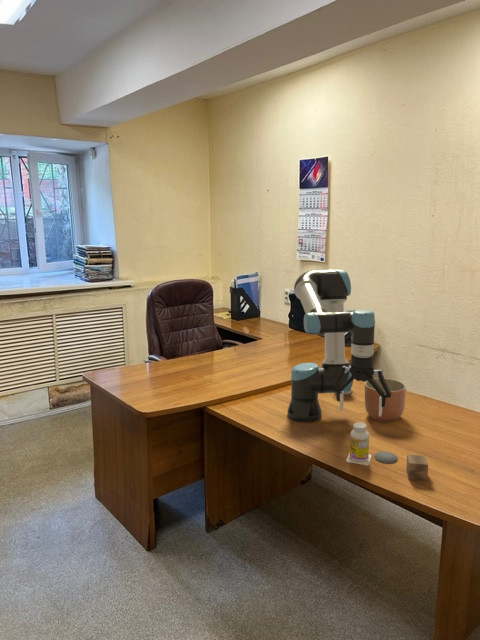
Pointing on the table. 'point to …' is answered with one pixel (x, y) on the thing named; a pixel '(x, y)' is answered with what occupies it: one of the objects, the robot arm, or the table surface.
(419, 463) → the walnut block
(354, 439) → the supplement bottle
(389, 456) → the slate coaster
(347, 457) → the tile
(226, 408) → the table surface
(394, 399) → the planter
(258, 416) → the table surface
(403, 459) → the table surface
